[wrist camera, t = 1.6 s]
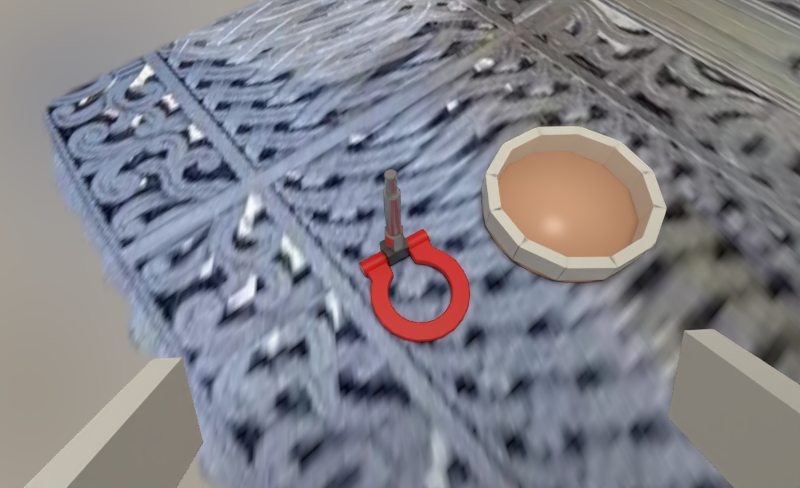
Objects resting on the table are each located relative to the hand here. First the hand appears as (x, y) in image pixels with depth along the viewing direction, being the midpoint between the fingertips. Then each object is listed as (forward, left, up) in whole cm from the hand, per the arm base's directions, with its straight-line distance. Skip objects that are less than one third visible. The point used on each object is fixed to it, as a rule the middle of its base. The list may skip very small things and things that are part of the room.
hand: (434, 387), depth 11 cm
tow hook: (-5, -9, -22) cm, 24 cm away
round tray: (-21, -9, -21) cm, 32 cm away
